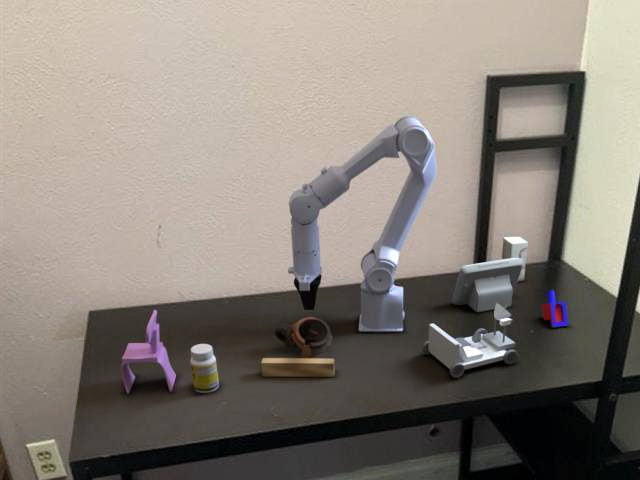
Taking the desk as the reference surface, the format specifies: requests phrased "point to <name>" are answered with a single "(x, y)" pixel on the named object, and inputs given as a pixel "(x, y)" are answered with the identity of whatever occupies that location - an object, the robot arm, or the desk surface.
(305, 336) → the pottery mug
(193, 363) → the supplement bottle
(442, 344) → the toy cart
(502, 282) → the digital clock
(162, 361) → the chair
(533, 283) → the desk surface
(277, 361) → the bar
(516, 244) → the white tall block
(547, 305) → the toy building block
